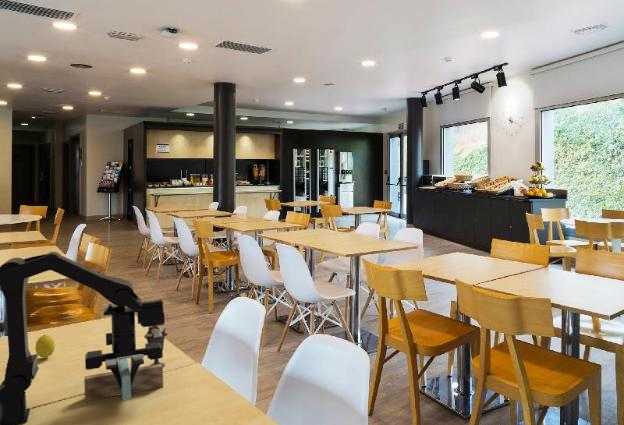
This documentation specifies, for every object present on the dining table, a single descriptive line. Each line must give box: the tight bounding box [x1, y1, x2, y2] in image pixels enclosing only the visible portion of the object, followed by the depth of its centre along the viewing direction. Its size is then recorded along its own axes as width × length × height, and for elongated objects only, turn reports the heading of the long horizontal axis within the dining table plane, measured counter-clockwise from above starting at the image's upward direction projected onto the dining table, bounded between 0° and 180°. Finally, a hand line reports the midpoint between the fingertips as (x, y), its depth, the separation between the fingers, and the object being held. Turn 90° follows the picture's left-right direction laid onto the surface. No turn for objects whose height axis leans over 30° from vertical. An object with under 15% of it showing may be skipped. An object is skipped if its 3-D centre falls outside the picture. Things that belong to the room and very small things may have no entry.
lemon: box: [35, 334, 56, 360], centre depth 156 cm, size 6×6×8 cm
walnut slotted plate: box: [83, 364, 164, 402], centre depth 133 cm, size 20×2×6 cm, turn 114°
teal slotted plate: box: [118, 358, 132, 401], centre depth 133 cm, size 20×2×6 cm, turn 24°
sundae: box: [144, 325, 168, 368], centre depth 149 cm, size 7×7×15 cm
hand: (125, 386), depth 128 cm, fingers closed on teal slotted plate, 2 cm apart
